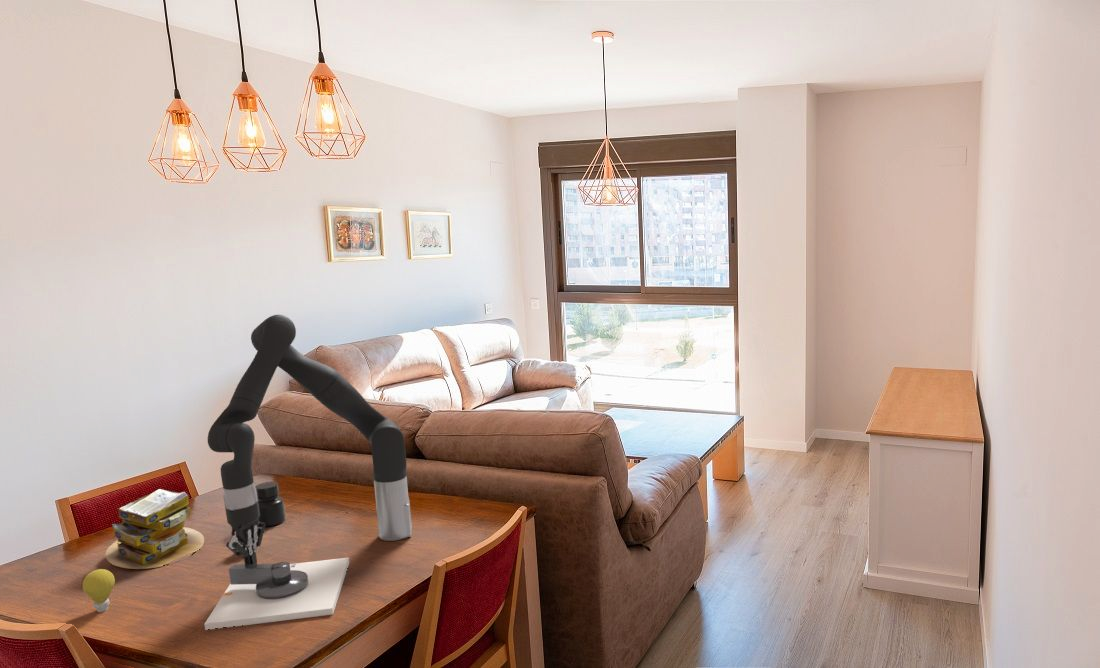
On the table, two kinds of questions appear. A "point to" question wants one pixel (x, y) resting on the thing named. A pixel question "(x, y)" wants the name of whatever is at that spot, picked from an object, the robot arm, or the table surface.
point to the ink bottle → (270, 504)
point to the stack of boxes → (153, 532)
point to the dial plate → (312, 601)
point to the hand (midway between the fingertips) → (251, 567)
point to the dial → (270, 579)
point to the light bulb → (99, 587)
